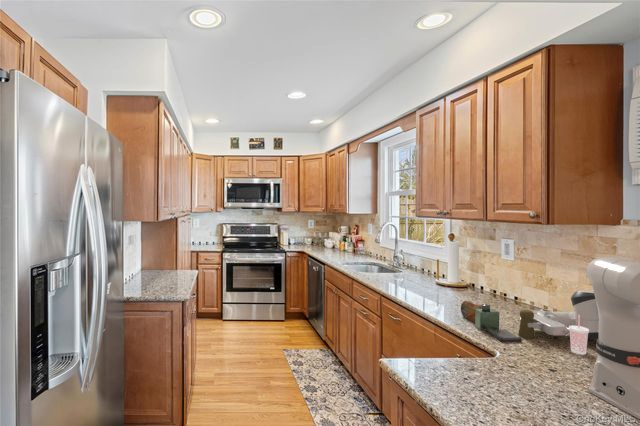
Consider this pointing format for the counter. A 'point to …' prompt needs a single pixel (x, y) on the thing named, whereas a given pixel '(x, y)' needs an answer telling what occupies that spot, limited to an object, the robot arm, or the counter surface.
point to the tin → (469, 310)
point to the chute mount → (493, 324)
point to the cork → (526, 324)
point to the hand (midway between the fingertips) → (523, 322)
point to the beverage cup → (578, 338)
